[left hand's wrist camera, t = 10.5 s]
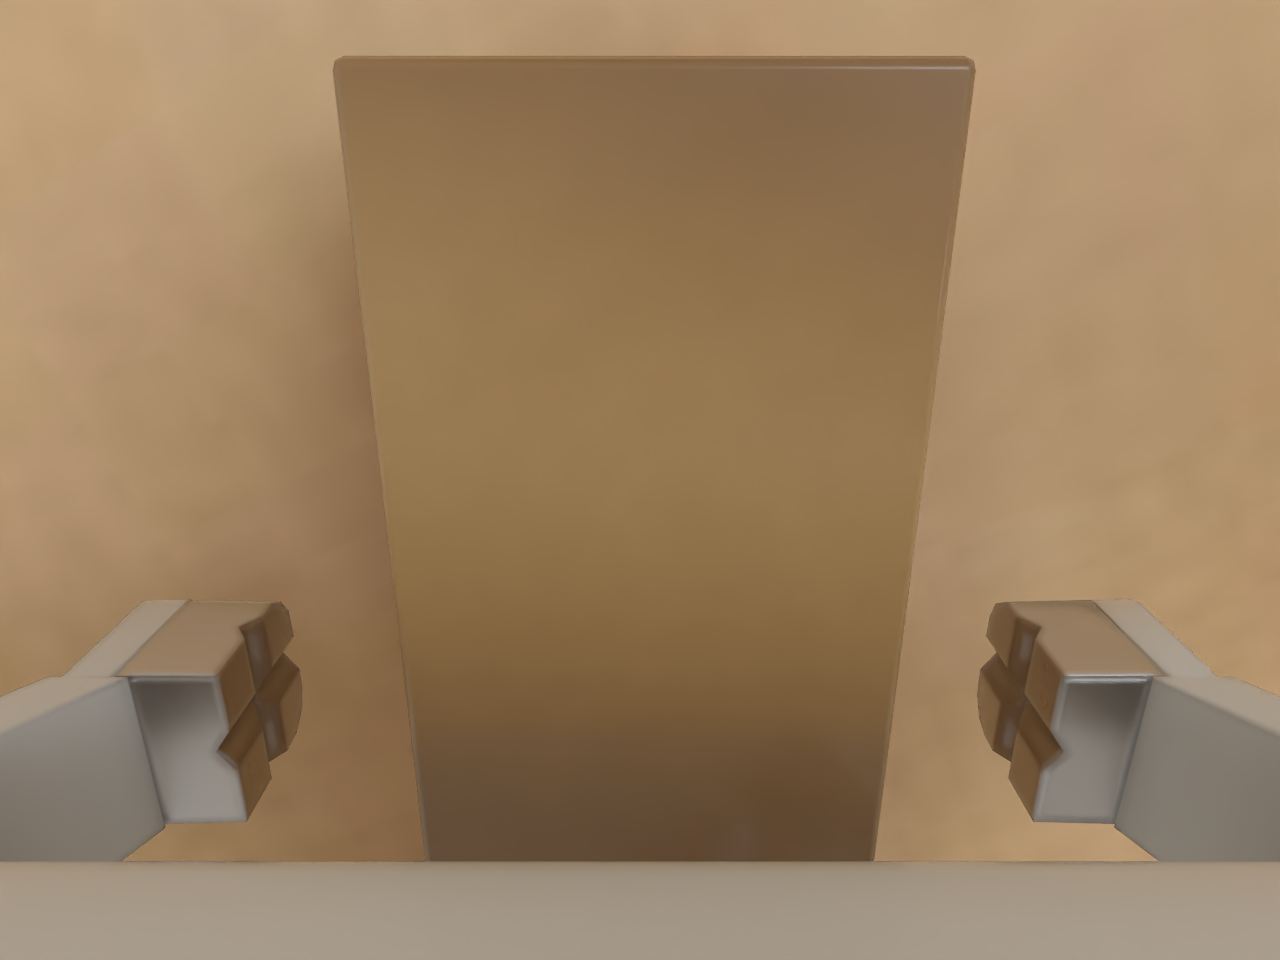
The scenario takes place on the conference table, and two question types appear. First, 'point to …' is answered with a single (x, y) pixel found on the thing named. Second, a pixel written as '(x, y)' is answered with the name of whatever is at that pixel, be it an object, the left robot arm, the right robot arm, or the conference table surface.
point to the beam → (652, 434)
